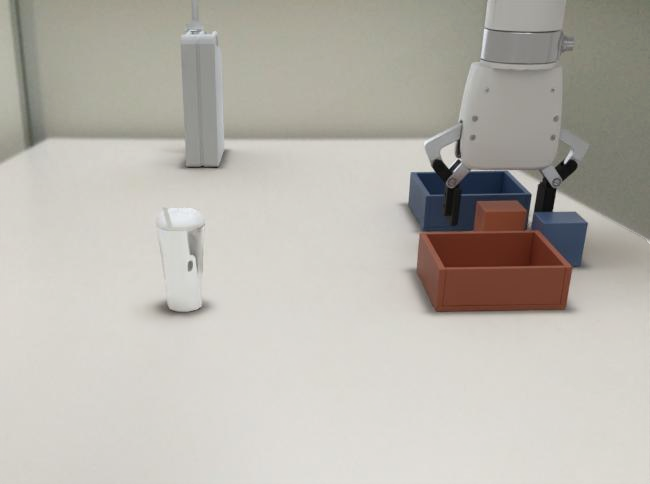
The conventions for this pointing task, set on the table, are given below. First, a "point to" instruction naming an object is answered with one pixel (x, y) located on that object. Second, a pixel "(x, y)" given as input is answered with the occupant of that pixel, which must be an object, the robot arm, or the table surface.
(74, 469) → the table surface
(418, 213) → the slate bin
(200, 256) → the milkshake
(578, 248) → the slate block
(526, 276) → the terracotta bin
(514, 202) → the terracotta block
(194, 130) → the jerry can
